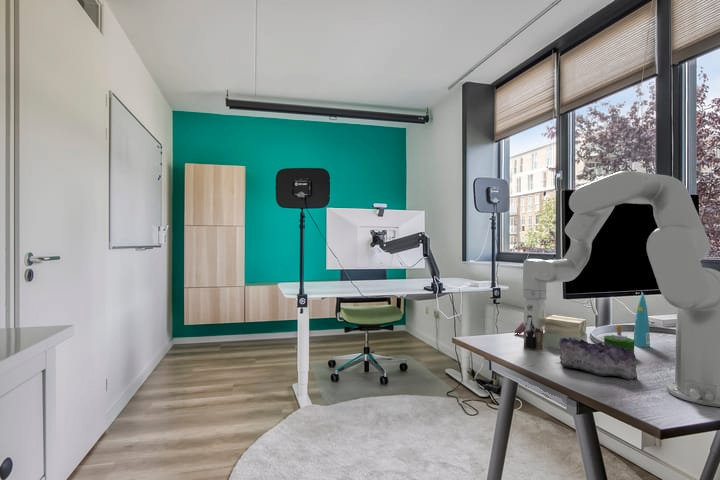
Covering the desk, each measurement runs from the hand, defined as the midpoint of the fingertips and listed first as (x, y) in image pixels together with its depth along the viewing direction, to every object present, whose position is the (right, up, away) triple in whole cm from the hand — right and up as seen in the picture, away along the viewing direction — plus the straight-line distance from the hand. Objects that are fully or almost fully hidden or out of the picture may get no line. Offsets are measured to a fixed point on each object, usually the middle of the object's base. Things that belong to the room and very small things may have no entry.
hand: (533, 345), depth 135 cm
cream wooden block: (+13, +4, +3) cm, 13 cm away
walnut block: (0, -1, 0) cm, 1 cm away
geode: (+8, -2, -22) cm, 24 cm away
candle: (+25, -1, -7) cm, 26 cm away
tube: (+41, -1, +4) cm, 41 cm away
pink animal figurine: (+5, -1, +14) cm, 15 cm away
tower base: (+12, -1, +3) cm, 13 cm away
